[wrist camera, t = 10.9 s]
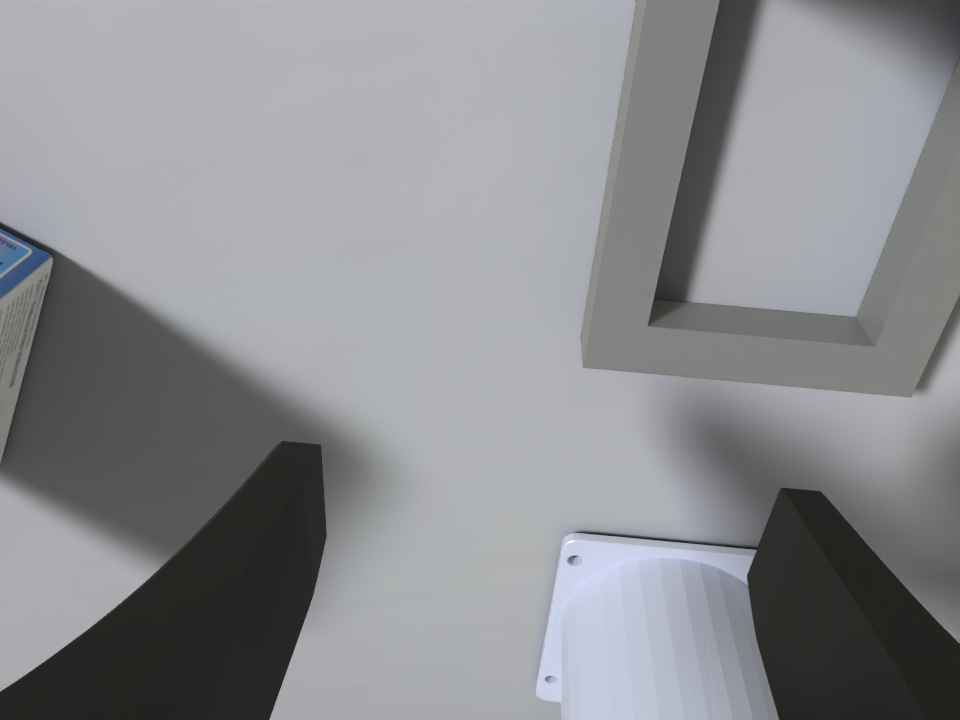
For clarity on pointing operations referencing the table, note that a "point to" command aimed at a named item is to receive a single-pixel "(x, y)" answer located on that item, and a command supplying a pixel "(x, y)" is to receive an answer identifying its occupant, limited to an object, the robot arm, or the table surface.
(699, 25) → the grey angular piece
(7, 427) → the ink cartridge box
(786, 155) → the table surface
